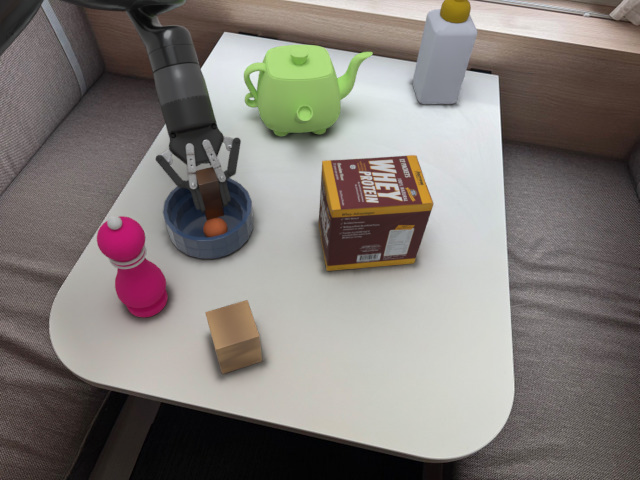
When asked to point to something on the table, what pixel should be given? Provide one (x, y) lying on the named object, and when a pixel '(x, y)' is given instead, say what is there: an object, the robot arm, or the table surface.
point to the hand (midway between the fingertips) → (214, 208)
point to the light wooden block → (234, 336)
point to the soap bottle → (444, 53)
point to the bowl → (190, 221)
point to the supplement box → (372, 211)
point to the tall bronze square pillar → (210, 192)
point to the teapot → (299, 88)
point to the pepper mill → (132, 266)
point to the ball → (215, 227)
